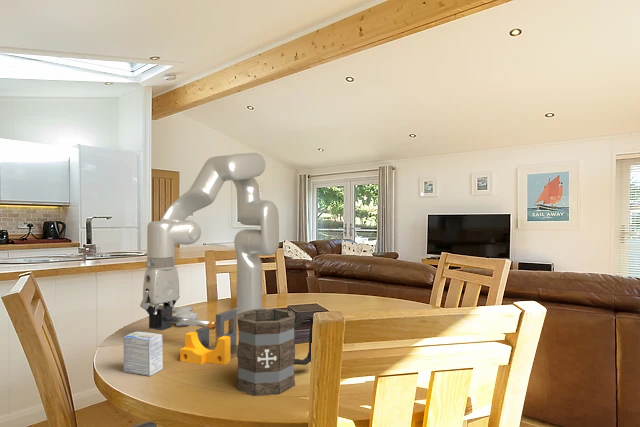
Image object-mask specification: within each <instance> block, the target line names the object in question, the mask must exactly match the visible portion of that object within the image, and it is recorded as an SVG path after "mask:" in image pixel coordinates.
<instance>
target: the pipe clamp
mask: <svg viewBox="0 0 640 427" xmlns="http://www.w3.org/2000/svg"><path fill="white" fill-rule="evenodd" d="M215 346H216V345H215ZM209 349H210V348H207V349H206V348H205V347H204V346H203V345H202V344H201V343H200V341H199V339H198V333H197V332H196V331H190V332H187V333H185V334H184V347H182V348H180V349H179V350H180V351H179V354H180V355H179V356H180V357H179V361H180V362H183V363H190V364H195V365H203V364H205V363H209V364H216V365H221V366H225V365H227V364H229V363H230V362H231V359H230V336H222V337H220V338H218V343H217V346H216V348H215V349H214V350H209Z"/></svg>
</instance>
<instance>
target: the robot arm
mask: <svg viewBox="0 0 640 427" xmlns="http://www.w3.org/2000/svg"><path fill="white" fill-rule="evenodd" d="M265 169H266V161H265V159H264V156H263V155H262V154H260V153H258V152H248V153H246V152H245V153H235V154H229V155H228V154H227V155H218V156H212V157H209V158H208V159H207V160H206V161H205V162H204V164H203V166H202V168H201V169H200V171H199V173H197V174H198V175H197V177H195V179H194V181H193V183H192V185H191V186H190V188H189V190H186V191H185V192H184V193H183V194H182V195H181V196H179V197H178V198H177V199H176V200H174V201H173V202H172V203H171V204H170V205H169V206H168V208H167V209H166V211H164V213H163V215H162V216H161V219H160V220H153V221H150V222H149V223H147V226H146V230H147V231H146V249H147V251H146V255H147V256H146V261H145V263H144V264H145V266H146V268H145V271H144V272H145V273H144V277H143V286H142V300H141V302H140V304H139V307H140V308H142V309H144V310H145V311H146V312H147V314H148V315H149V314H150V324H149V323H148V327H149V326H150V328H159V314H157V313H158V307H159V305H163V306H171V307H172V310H173V308H174V307H175V304H176V302H177V301H178V300H179V299H180V280H179V273H178V269H177V268H178V267H177V266H175V262H176V261H175V253H176V252H175V251H176V250H175V249H176V248H175V245H193V244H195V243H196V242H198V240H200V237H201V235H202V230H201V227H200V225H199V224H198V223H197V222H196V221H193V220H189V219H188V220H187V218H188V217H189V216H190V215H192V214H194V213H195V212H198V211H199V210H202V209H205V208H206V207H208V206H210V205H212V204H213V203H214V202H215V200H216V198H217V196H218V194H219V192H220V190H221V188H222V186H223V184H224V183H225V182H228V181H231V182H233V184H234V186H235V189H236V202H237V205H236V206H237V220H238V222H239V223H240V224H241V225H243V226H250V227H251V226H252V227H253V226H256V227H260V229H257V228H246V229H242V230H239V231H238V232H237V233H236V234H235V236H234V240H233V241H234V250H235V256H236V307H235V308H233V309H236V310H237V316H238V313H242V312H246V311H250V310H253V309H267V308H266V307H265V306H263V263H262V260H261V258H260V256H272V255H274V254H276V253H277V252H278V249H279V246H280V217H279V216H280V214H279V210H278V208H277V205H276V204H275V203H274V202H273V201H271V200H268V199H267V200H264V199H263V200H261V195H260V192H261V191H260V186H259V183H258V181H257V180H256V178H257V177H260V176H262V175H263V174H264V172H265ZM153 307H154V308H153Z"/></svg>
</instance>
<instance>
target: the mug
mask: <svg viewBox="0 0 640 427" xmlns="http://www.w3.org/2000/svg"><path fill="white" fill-rule="evenodd" d="M307 319H309V323H310V324H309V325H310V329H309V334H308V337H309V339H308V340H309V341H308V353H307V355H306V357H305V358H303V359H299V358H296V344H295V330H296V329H299V327H300V326H302V324H303V322H304V321H306V320H307ZM312 324H313V315H312V314H310V313H303V314H301V315H300V316H298V317H297V318H296V315H295V312H294V311H293V310H287V309H283V308H282V309H281V308H266V309H253V310H250V311H246V312H242V313H238V315H237V327H238V328H237V330H238V342H237V343H238V344H237V345H238V353H237V356H236V357H237V366H238V370H237V371H238V372H237V373H238V376H237V382H236V390H237V391H239V392H242V393H245V394H247V395H251V396H253V397H260V396H261V397H262V396H273V395H274V396H275V395H276V396H277V395H281V394H283V393H285V392H287V391H288V390H290V389H293V387H295V386H296V382H295V381H296V380H295V366H296V365H297V366H298V365H303V366H306V365H308V364H310V363H311V362H312V361H311V343H312Z"/></svg>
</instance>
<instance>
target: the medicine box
mask: <svg viewBox="0 0 640 427" xmlns="http://www.w3.org/2000/svg"><path fill="white" fill-rule="evenodd" d="M163 363H164V362H163V334H161V333H154V332H146V331H145V332H144V331H134V332H131V333H128V334H126V335H124V336H123V373H131V374H134V375H135V374H136V375H142V376H149V377H151V376H153V375H156V374H157V373H159V372H160V371H162V370H163V369H164V368H163V366H164V365H163Z"/></svg>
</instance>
